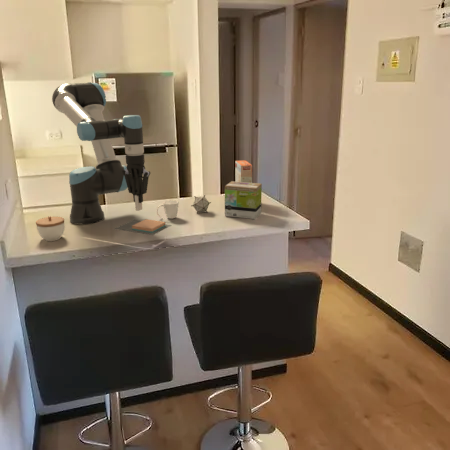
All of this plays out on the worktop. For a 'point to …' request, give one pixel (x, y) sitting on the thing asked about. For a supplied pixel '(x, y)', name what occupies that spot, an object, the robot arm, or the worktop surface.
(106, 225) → the worktop surface
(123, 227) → the mat
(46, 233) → the lidded jar
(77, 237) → the worktop surface
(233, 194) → the tea box
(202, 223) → the worktop surface
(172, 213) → the cup
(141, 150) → the robot arm
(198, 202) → the game die
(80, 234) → the worktop surface
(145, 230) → the tile
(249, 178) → the cracker box
